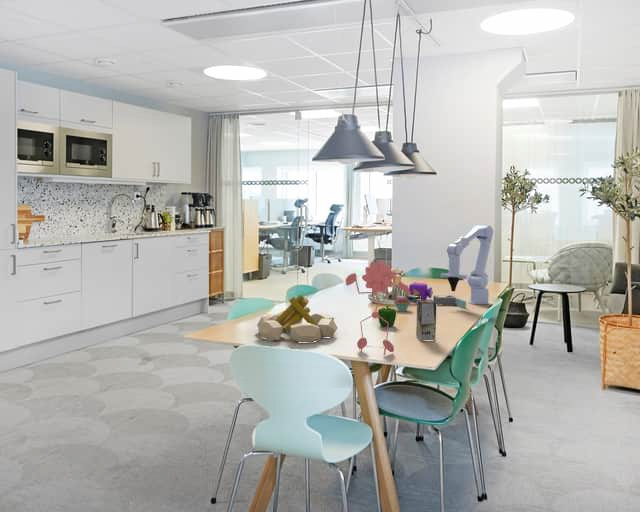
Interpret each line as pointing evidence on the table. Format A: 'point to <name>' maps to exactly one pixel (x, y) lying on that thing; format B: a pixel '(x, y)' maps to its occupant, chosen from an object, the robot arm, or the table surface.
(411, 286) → the toy camera
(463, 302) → the teal bar
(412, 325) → the table surface
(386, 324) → the bell pepper
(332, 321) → the campfire
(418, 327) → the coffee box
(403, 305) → the cupcake
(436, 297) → the camera case
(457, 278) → the robot arm
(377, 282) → the figurine
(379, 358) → the table surface
